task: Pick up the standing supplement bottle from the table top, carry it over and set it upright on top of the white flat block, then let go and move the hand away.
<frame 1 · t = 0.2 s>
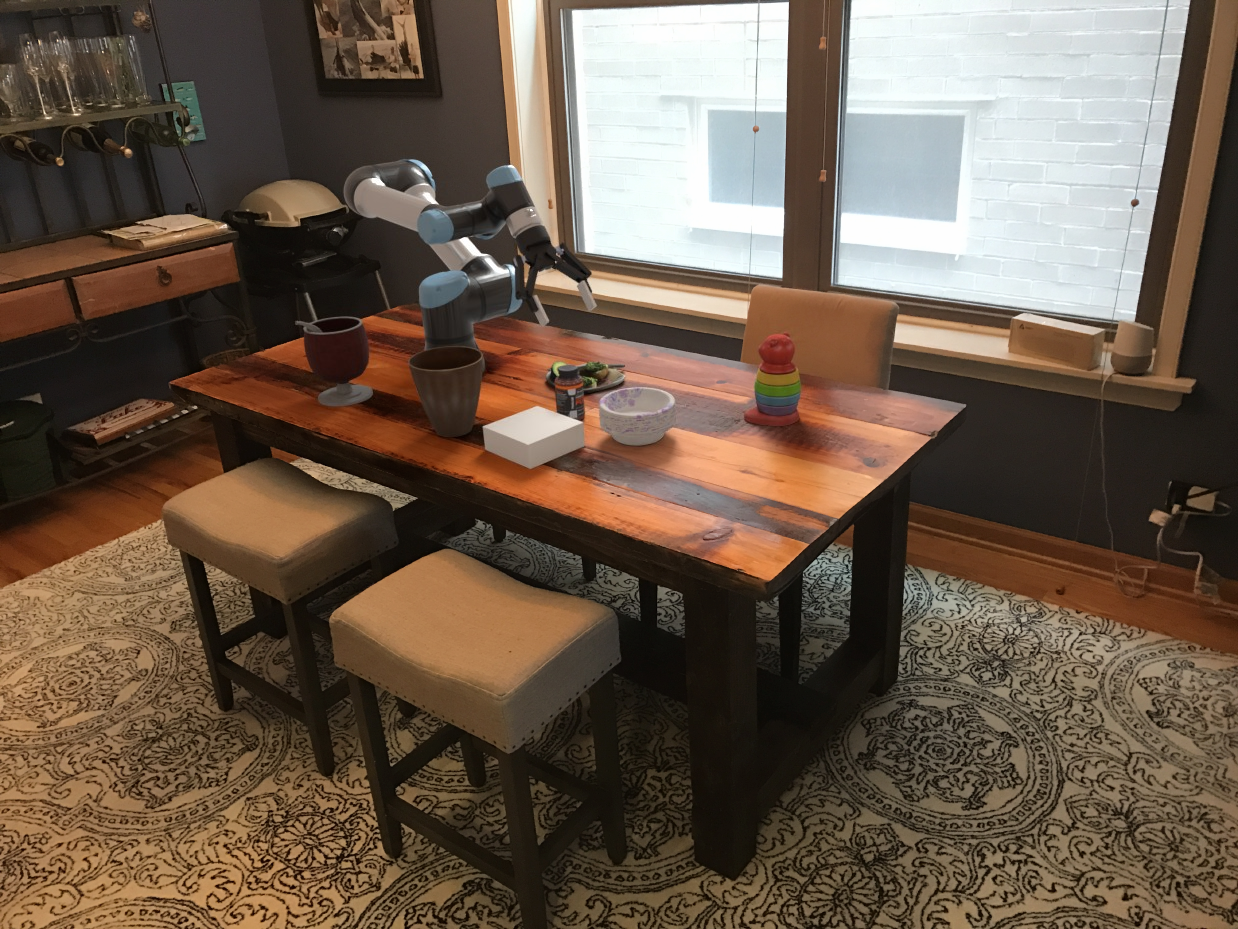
hand: (569, 316, 221), 16 cm above the table, tool tilted 35°, fingers open, 13 cm apart
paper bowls: (638, 437, 197), on the table
white flat block: (535, 447, 195), on the table
supplement bottle: (571, 419, 208), on the table
salad plate: (582, 383, 229), on the table
stacking bear: (775, 418, 203), on the table
plant pot: (455, 431, 205), on the table
mate gourd: (342, 398, 226), on the table
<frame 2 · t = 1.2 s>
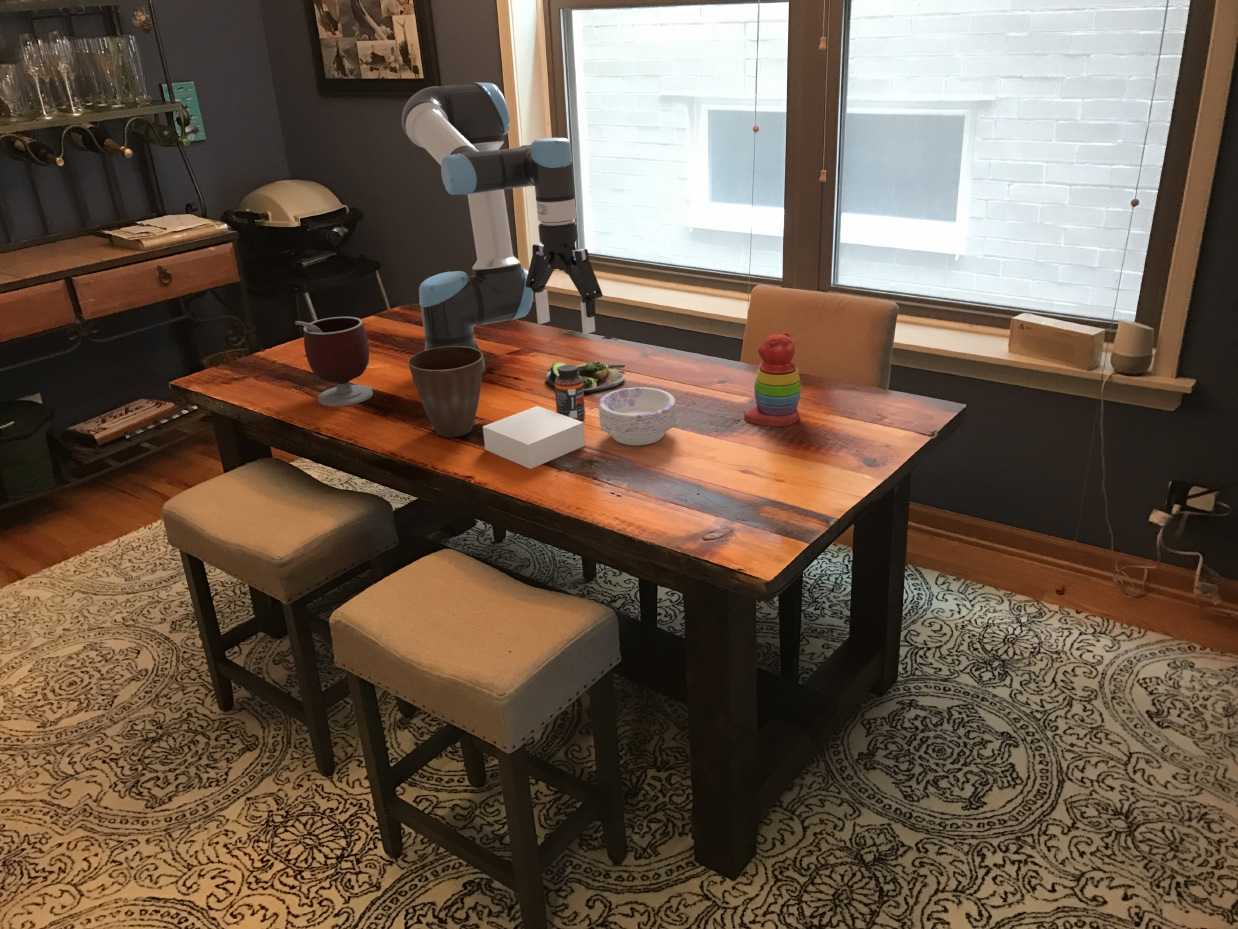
hand: (566, 327, 201), 20 cm above the table, tool pointing down, fingers open, 13 cm apart
nothing on the table moved.
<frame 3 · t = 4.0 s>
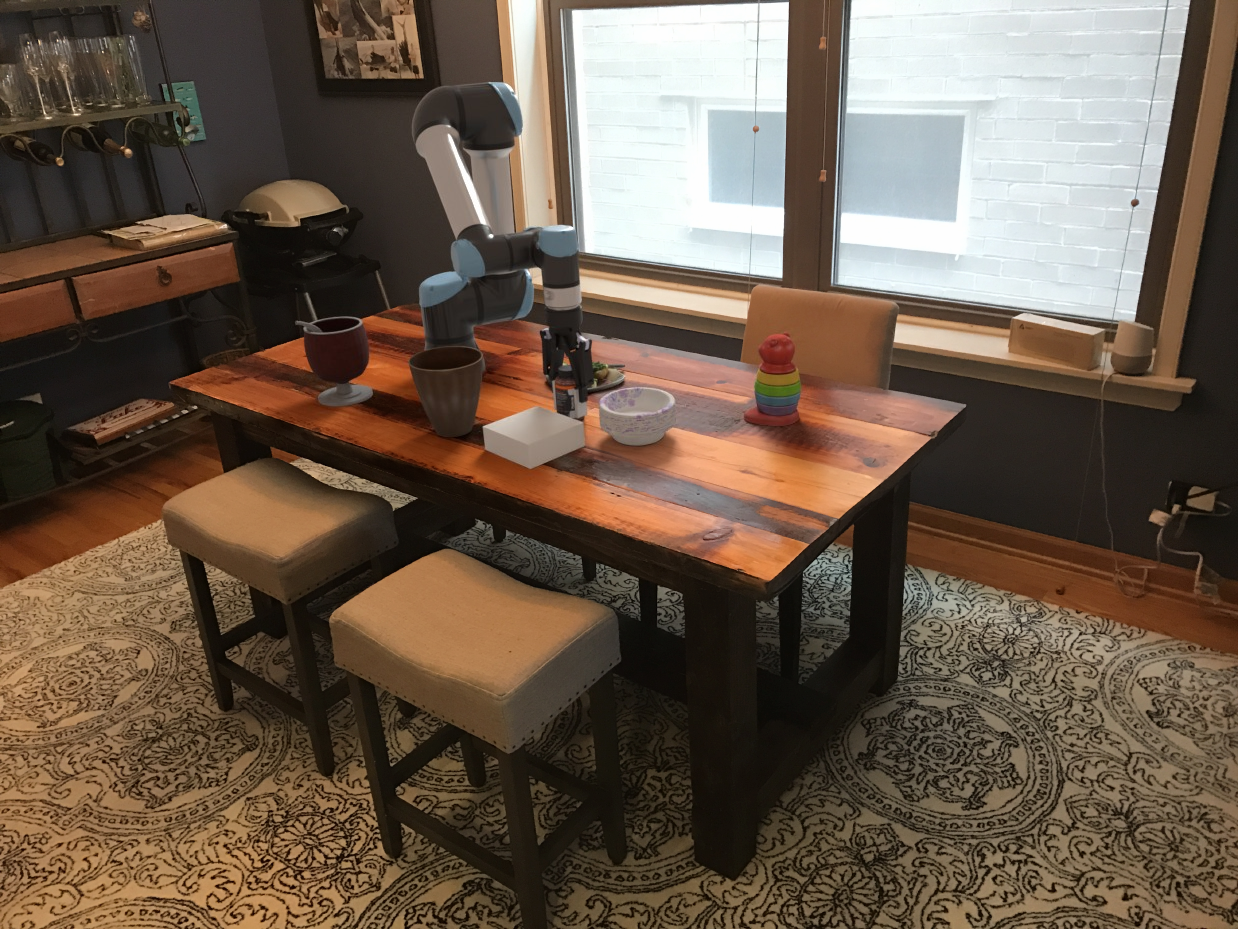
hand: (570, 411, 207), 1 cm above the table, tool pointing down, fingers closed on supplement bottle, 6 cm apart
supplement bottle: (571, 419, 208), on the table, touching gripper
everything else where it was.
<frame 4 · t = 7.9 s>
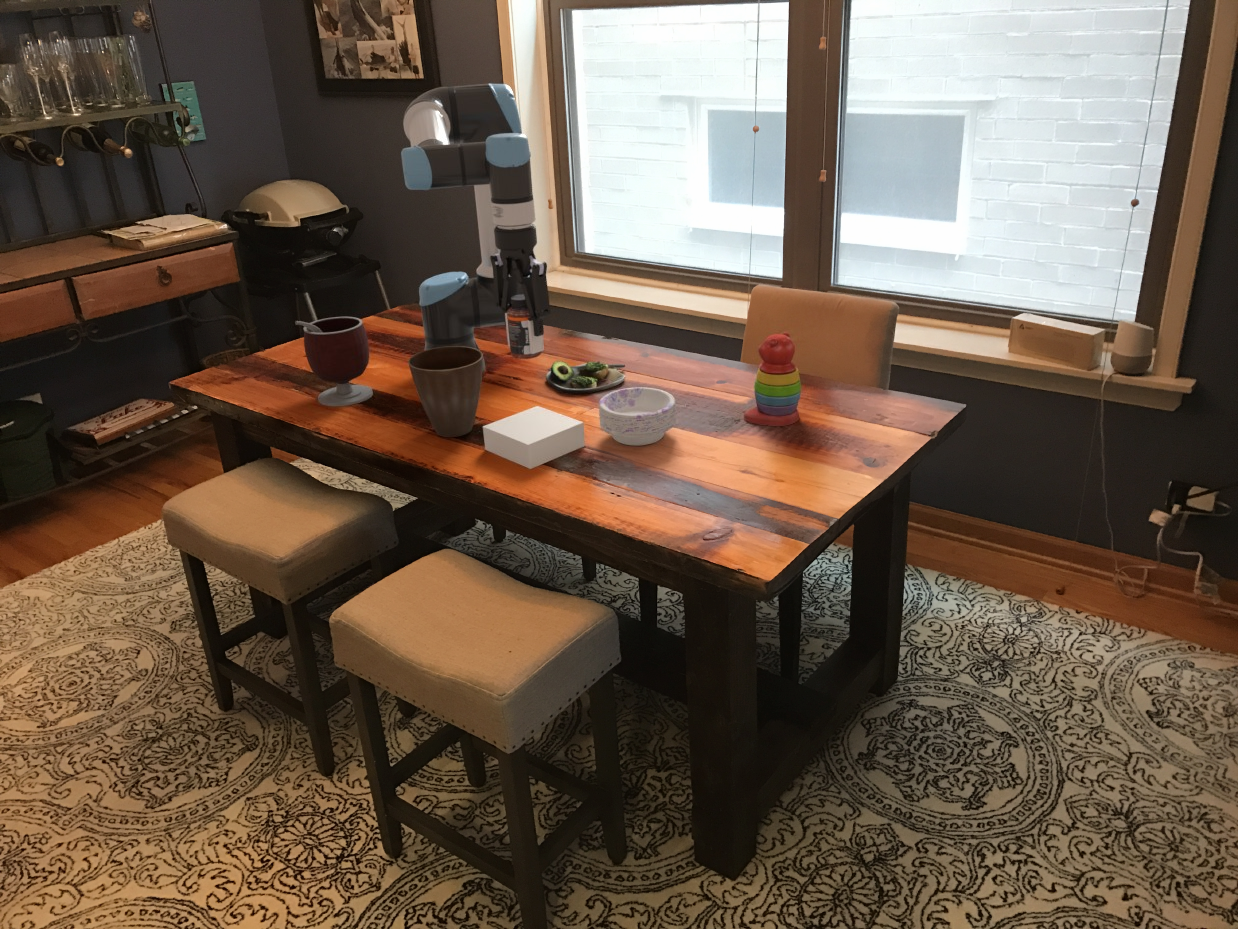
hand: (525, 348, 186), 21 cm above the table, tool pointing down, fingers closed on supplement bottle, 6 cm apart
supplement bottle: (526, 356, 187), point 19 cm above the table, touching gripper
everything else where it was.
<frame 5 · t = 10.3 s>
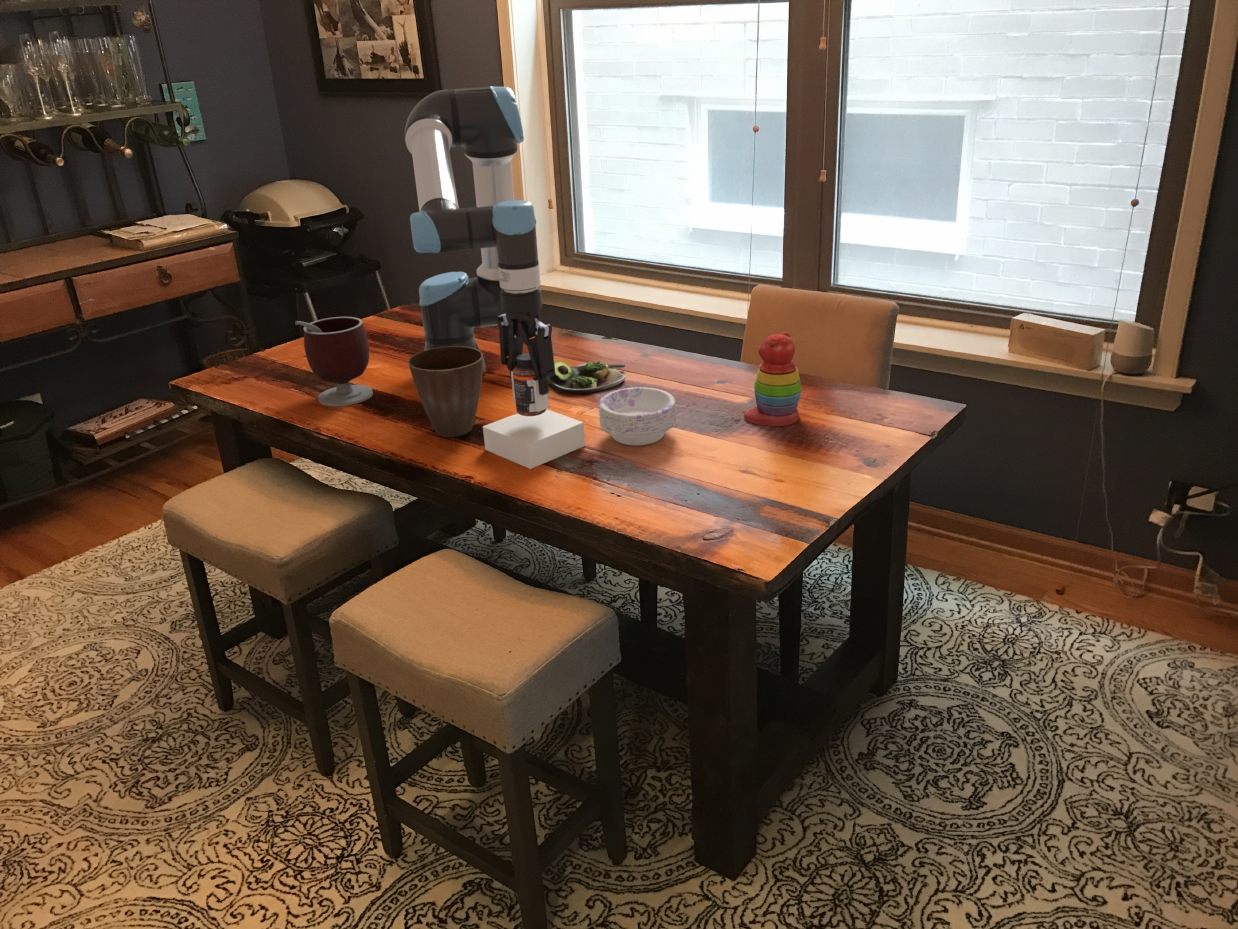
hand: (531, 405, 191), 9 cm above the table, tool pointing down, fingers closed on supplement bottle, 6 cm apart
supplement bottle: (531, 412, 192), point 7 cm above the table, touching gripper
everything else where it was.
when the fingers open (7 cm above the table, at t = 12.3 s): supplement bottle stays where it is, resting on white flat block.
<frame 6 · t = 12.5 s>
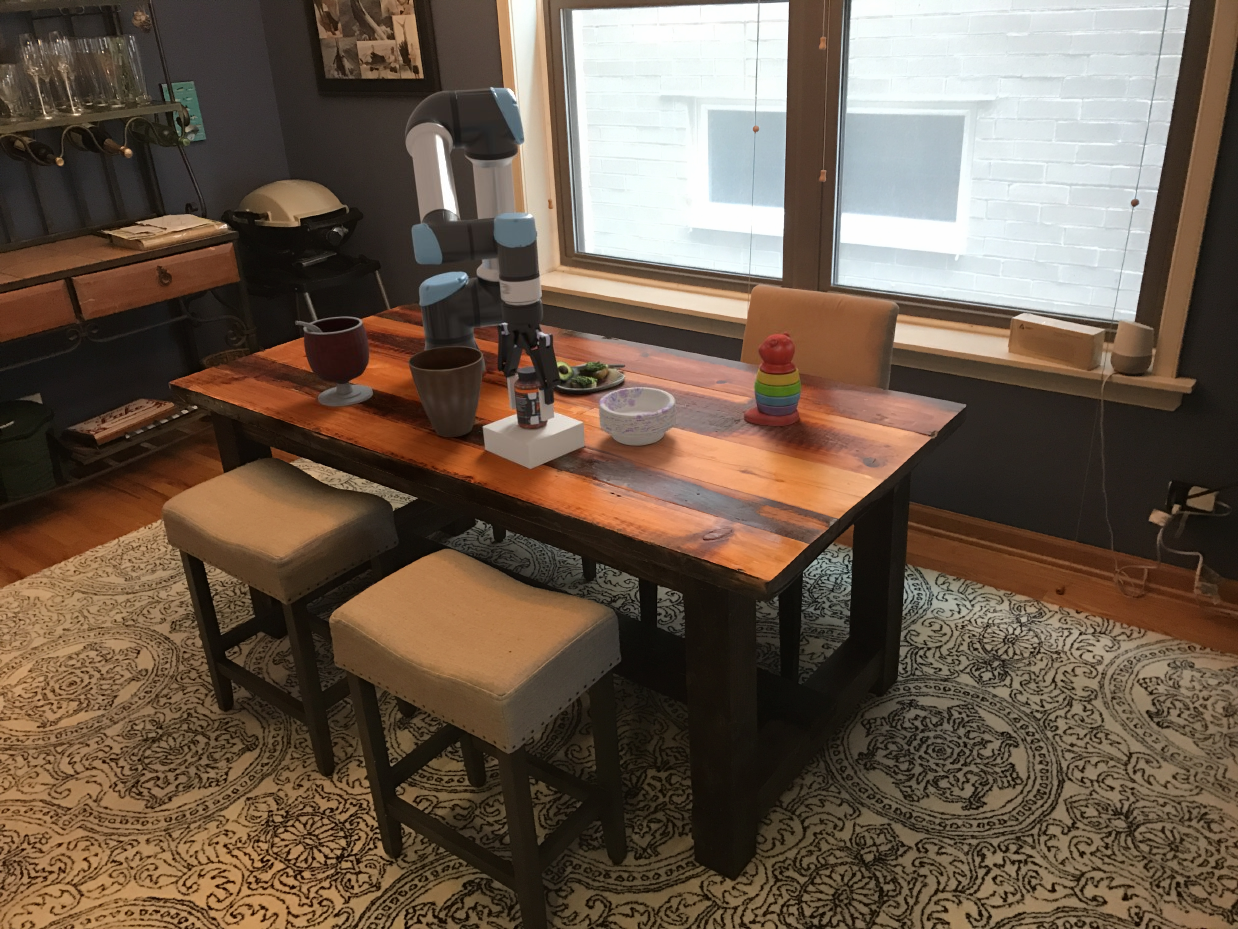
hand: (531, 412, 192), 7 cm above the table, tool pointing down, fingers open, 9 cm apart
supplement bottle: (533, 425, 193), point 5 cm above the table, touching white flat block
everything else where it was.
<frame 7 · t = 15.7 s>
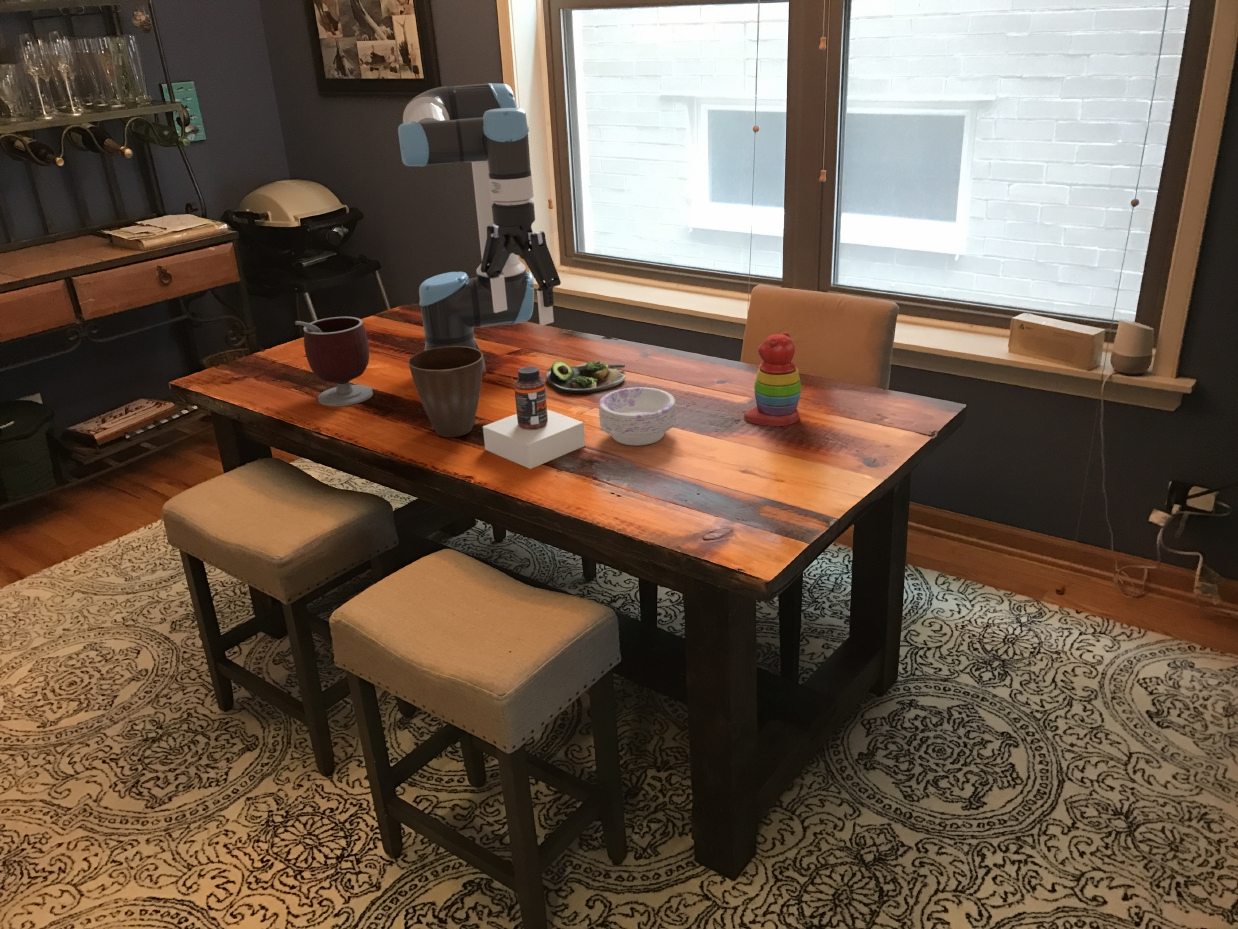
hand: (523, 317, 184), 27 cm above the table, tool pointing down, fingers open, 13 cm apart
nothing on the table moved.
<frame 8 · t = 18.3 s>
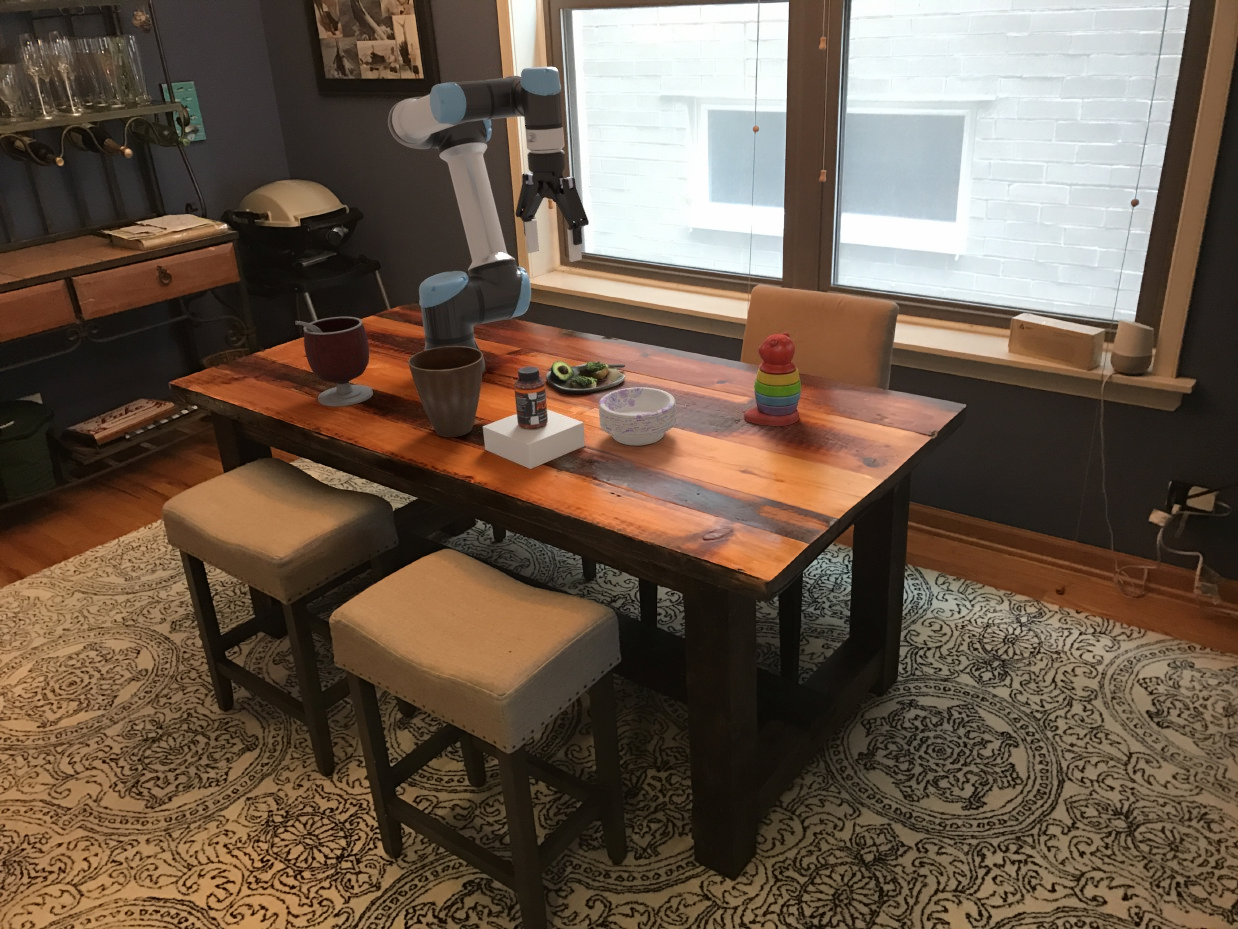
hand: (553, 256, 206), 32 cm above the table, tool pointing down, fingers open, 13 cm apart
nothing on the table moved.
at the end: supplement bottle inside the target area on the white flat block (0.0 cm from its centre), point 4.8 cm above the white flat block's base; supplement bottle tilted 0°; the gripper is holding nothing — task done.
